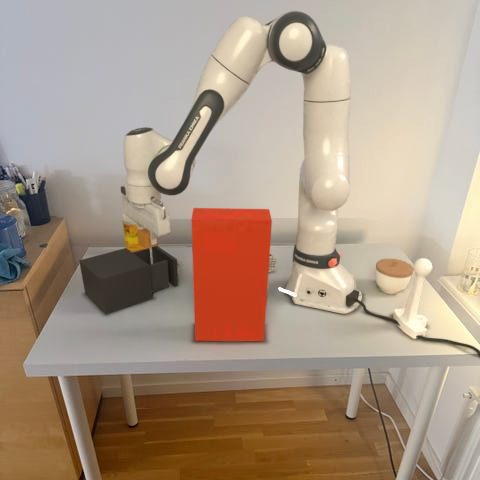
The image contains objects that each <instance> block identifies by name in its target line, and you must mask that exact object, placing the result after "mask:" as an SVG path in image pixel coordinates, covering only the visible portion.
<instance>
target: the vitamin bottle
mask: <svg viewBox="0 0 480 480" xmlns="http://www.w3.org/2000/svg"><path fill="white" fill-rule="evenodd" d="M121 219H122V226H123V227H122V228H123V235H124V242H125V248H127V249H128V250H130V251H131V252H135V251H139V250H143V249H145V248H144V247H142V246H141V245H139V243H138V233H137V230H138V228H137V225H136V222H135V221H133V220H132V219H130V218H129V217H127V216H126V214H125V212H124V210H123V211H122V215H121Z"/></svg>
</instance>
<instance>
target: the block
mask: <svg viewBox="0 0 480 480" xmlns="http://www.w3.org/2000/svg"><path fill="white" fill-rule="evenodd" d="M137 233H138V243H139V245H141V246H142V247H144V249H147V248H149V249H152V247H155V246H158V247H159V237H157V244H155V245H152V244H150V243H149V238H150V236H151V234H150V231H149V230H147V229H146V228H144V229H140V230H137Z"/></svg>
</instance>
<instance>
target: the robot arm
mask: <svg viewBox="0 0 480 480" xmlns="http://www.w3.org/2000/svg"><path fill="white" fill-rule="evenodd" d="M269 63H275V64H277V65H278V66H280V67H281V68H284V69H286V70H288V71H293V72H296V73H300V74H301V76H302V82H303V109H302V110H303V111H302V113H303V114H302V123H303V124H302V137H303V138H302V139H303V151H304V158H303V160H302V162H301V165H300V168H299V181H298V205H297V208H298V209H297V210H298V212H297V214H298V215H297V227H296V238H295V244H294V245H293V250H292V268H291V272H290V275H289V278H288V281H287V283H286V286H285V289H284V288H282V287H278V290H279V292H282V293H285V294H288V295H289V297H291V299H292V302H293V304H296V305H299V306H304V307H309V308H314V309H318V310H322V311H327V312H332V313H336V314H338V313H339V314H341V315H342V314H343V315H345V314H349V313H352V312H354V311H355V310H356V309H357V308H358V307H359V306H361V307H362V309H363V311H364V313H366V314H368V315H369V316H373V317H376V318H379V319H383V320H387V321H390V322H392V323H394V324H395V325H396V326H398V325H399V323H398V321H396V320H394V319H393V317H390V316H386V315H380V314H376V313H374V312H371V311H369V310H368V308H367V306H366V304H365V303H364V302H362V300H363V293H362V292H361V291H360V290H359V289H357V287H356V279H355V277H354V275H353V273H352V274H351V272H350V271H349V270H348V269H346V267H345V266H344V265H343V264H342V263H341V262H340V261H341V257H342V256H343V251H341V252H339V253H338V251H337V249H336V243H337V237H338V229H339V209H340V208H341V207H342V206H343V205H345V204H346V202H347V201H348V199H349V197H350V194H351V181H350V179H351V177H350V171H351V170H350V143H349V141H350V140H349V128H350V114H351V113H350V112H351V111H350V110H351V98H352V97H351V94H352V77H351V76H352V75H351V73H352V72H351V63H350V56H349V53H348V51H347V50H346V48H344V47H343V46H341V45H338V44H334V43H326V41H325V40H324V37H323V35H322V33H321V31H320V29H319V27H318V25H317V23H316V21H315V20H314V19H313V18H312V17H311V16H310V15H309V14H307V13H305V12H303V11H301V10H287V11H285V12H282V13H281V14H280V15H278V16H277V17H276V18H275V19H272V20H271V21H269V22H267V23H266V24H264V23H261V22H260V21H259V20H257V19H256V18H254V17H252V16H245V15H244V16H243V15H242V16H239V17H237V18H236V19H235V20H234V21H233V22H232V23H231V24H230V26H229V27H228V28H227V29H226V31H225V32H224V33H223V35H222V36H221V38H220V39H219V40H218V41H217V44H216V45H215V46H214V49H213V50H212V52H211V53H210V55H209V57H208V58H207V60H206V63H205V65H204V67H203V70H202V72H201V75H200V77H199V81H198V83H197V87H196V90H195V93H194V97H193V101H192V103H191V107H190V109H189V112H188V113H187V115H186V117H185V119H184V121H183V123H182V125H181V126H180V128H179V130H178V132H177V133H176V135H175V137H174V138H173V139H170V138H168V137H166V136H164V135H163V134H161V133H159V132H158V131H156V129H154V128H153V127H147V126H146V127H138V128H135V129H132V130H130V131H128V132H127V133H126V134H125V135H124V139H123V163H124V168H125V170H126V180H125V184H121V185H119V192H120V194H121V202H122V207H123V211H124V212H125V214H126V216H127V217H129V218H130V219H132V220H133V221H135V222H136V225H137V228H138V230H140V229H144V228H146V229H147V230H149V231H150V234H151V236H150V238H149V243H150V244H152V245H155V244H157V237H158V238H161V237H166V236H168V235H170V233H171V221H170V215H169V210H168V208H167V206H165V205H164V202H162V194H163V195H164V196H178V195H180V194H182V193H184V191H185V190H187V188H188V186H189V183H190V180H191V176H192V175H193V172H194V169H195V167H196V157H197V156H198V154H199V152H200V150H201V148H202V147H203V146H204V144H205V142H206V140H207V138H208V137H209V135H210V134H211V132H212V131H213V129H214V128H215V127H216V126H217V124H219V122H220V121H221V120H222V119H223V118H224V117H225V116H227V114H228V113H229V112H230V111H231V110H232V109H233V108H234V107H235V106H236V104H237V103H239V101H240V100H241V99H242V98H243V96H244V95H245V94H246V92H247V91H248V89H249V87H250V86H251V84H252V83H253V81H254V80H255V78H256V77H257V75H258V73H259V71H260V70H261V69H262V68H263V67H264V66H265V65H267V64H269ZM399 326H400V325H399ZM416 339H419V340H422V341H429V342H440V343H447V344H451V345H455V346H459V347H465V348H467V349H470V350H471V351H474V352H475V353H477V355H479V356H480V349H479V348H477V347H475V346H474V345H472V344H468V343H464V342H459V341H455V340H451V339H445V338H438V337H437V338H435V337H426V336H422V335H418V336H416Z"/></svg>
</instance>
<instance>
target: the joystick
mask: <svg viewBox="0 0 480 480" xmlns="http://www.w3.org/2000/svg"><path fill="white" fill-rule="evenodd" d="M412 267H413V273H414V274H415V276H414V279H413V282H412V285H411V289H410V292H409V294H408V298H407V301H406V304H405V307H400V308H395V309H394V310H393V315H392V319H394V320H396V321H398V323H399V325H400V326H399V325H397V327H398V328H399V329H400V330H401V331H402V332H403V333H404V334H406V335H407V336H409V338H411V339H417V338H416V336H418V335H419V336H423V337H426V335H427V331H428V329H427V327H426V326H427V323H428V321H429V320H428V318H427V317H426V316H425V315H423V314H418V309H419V305H420V301H421V296H422V291H423V288H424V282H425V279H426V277H427V276H428V275H430V273H432V271H433V263H432V262H431V260H430V259H428V258H427V257H426V258H425V257H422V258H421V257H420V258H418V259H416V260H415V261H414V263H413V265H412Z"/></svg>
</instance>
